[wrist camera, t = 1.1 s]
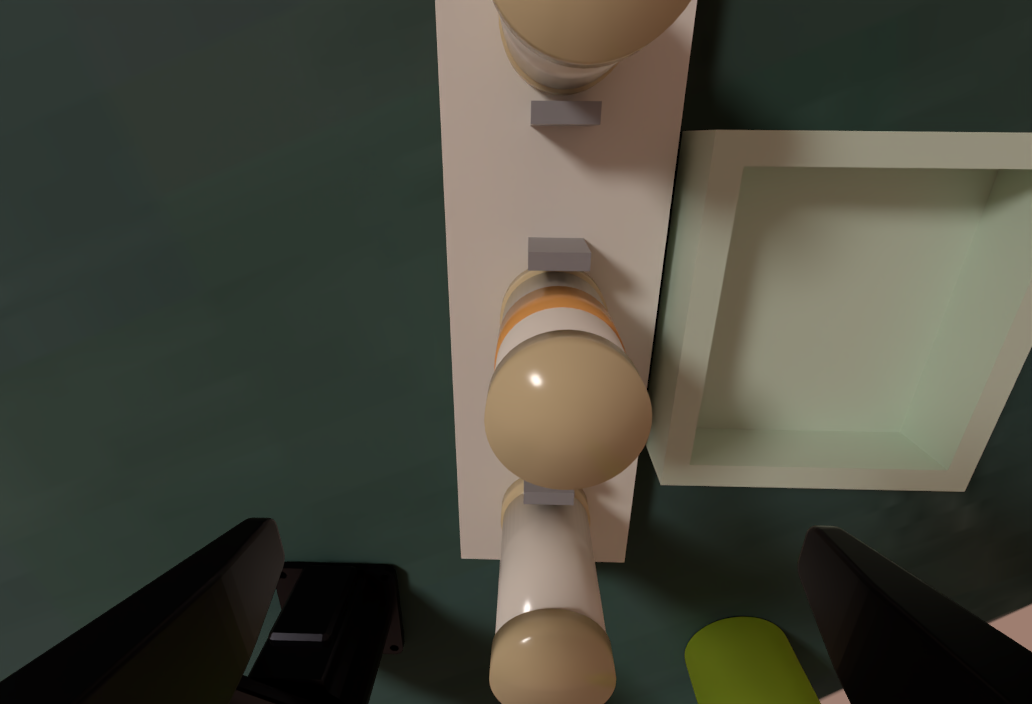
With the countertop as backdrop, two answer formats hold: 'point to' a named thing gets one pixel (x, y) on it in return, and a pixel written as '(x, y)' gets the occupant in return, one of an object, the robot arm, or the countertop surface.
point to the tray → (840, 307)
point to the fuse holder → (549, 227)
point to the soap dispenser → (746, 665)
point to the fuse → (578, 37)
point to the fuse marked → (563, 385)
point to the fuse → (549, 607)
